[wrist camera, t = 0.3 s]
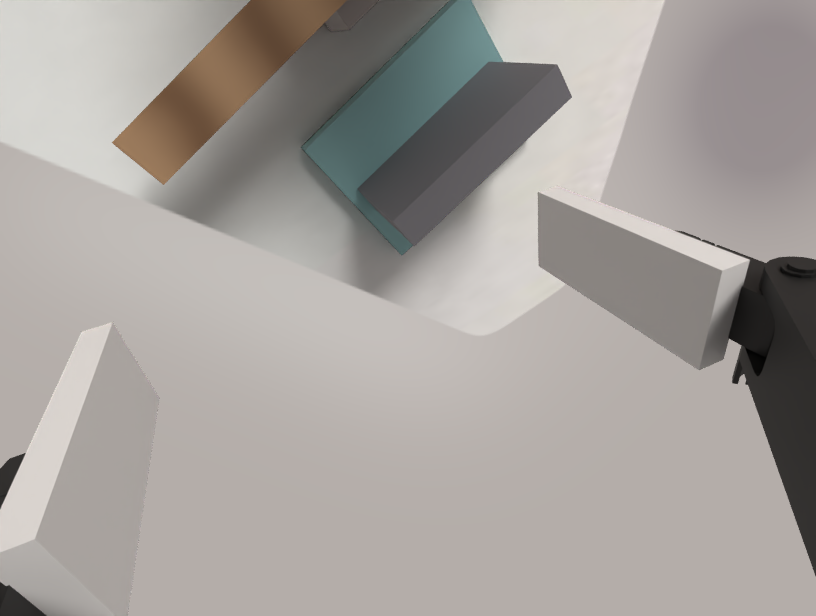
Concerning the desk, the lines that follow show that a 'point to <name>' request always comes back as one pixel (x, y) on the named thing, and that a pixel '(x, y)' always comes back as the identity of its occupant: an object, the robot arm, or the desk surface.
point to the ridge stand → (433, 125)
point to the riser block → (349, 14)
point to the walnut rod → (220, 81)
